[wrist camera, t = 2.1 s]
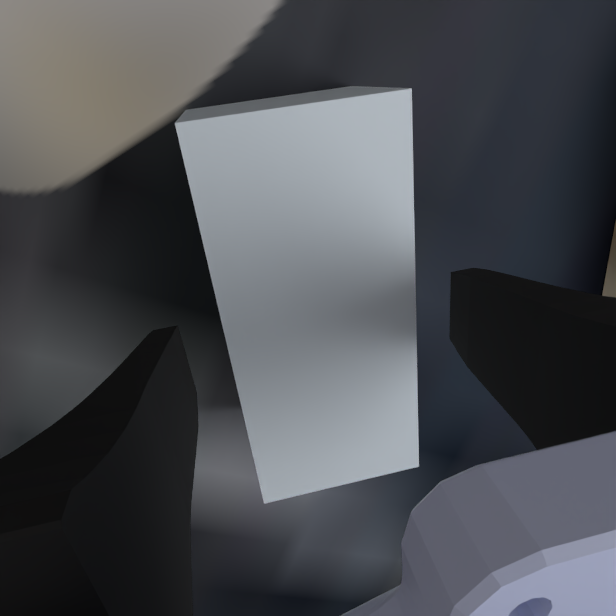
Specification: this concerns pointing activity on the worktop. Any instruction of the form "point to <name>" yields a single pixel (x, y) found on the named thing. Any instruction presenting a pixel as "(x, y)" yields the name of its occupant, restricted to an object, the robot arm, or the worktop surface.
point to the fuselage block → (313, 277)
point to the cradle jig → (611, 270)
